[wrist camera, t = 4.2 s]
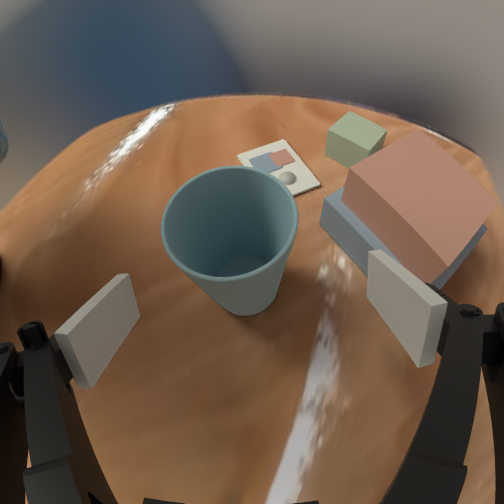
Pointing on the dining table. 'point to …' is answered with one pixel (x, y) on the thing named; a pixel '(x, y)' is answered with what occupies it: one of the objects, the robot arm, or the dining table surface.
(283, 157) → the page
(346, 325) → the dining table surface
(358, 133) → the brick
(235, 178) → the cup
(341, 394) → the dining table surface
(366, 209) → the brick tower
